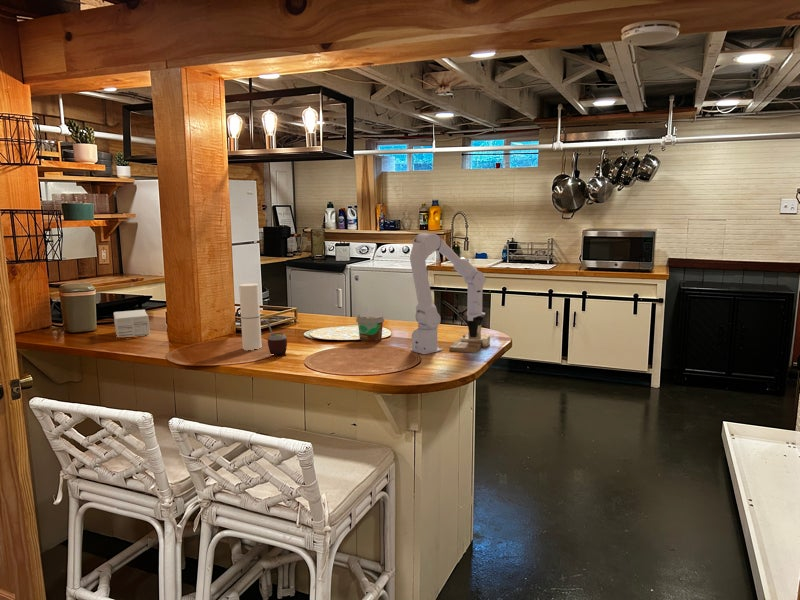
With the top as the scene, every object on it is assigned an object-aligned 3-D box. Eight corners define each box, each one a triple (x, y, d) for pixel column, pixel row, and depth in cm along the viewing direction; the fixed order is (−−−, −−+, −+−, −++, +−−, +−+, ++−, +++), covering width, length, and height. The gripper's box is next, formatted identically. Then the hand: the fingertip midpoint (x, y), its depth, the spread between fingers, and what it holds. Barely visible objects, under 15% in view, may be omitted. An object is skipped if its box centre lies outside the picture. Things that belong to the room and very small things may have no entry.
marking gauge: (486, 346, 223) (486, 327, 222) (459, 344, 227) (460, 326, 226) (490, 343, 229) (490, 324, 227) (464, 341, 232) (464, 323, 231)
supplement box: (114, 332, 260) (113, 311, 258) (146, 329, 266) (145, 309, 264) (116, 339, 245) (114, 318, 244) (150, 336, 251) (148, 315, 250)
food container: (350, 341, 237) (350, 317, 235) (358, 338, 242) (358, 314, 240) (377, 344, 231) (376, 319, 229) (384, 340, 236) (384, 316, 235)
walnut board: (475, 352, 215) (475, 348, 215) (449, 350, 219) (449, 346, 219) (487, 341, 234) (487, 337, 233) (463, 339, 237) (463, 335, 237)
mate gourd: (290, 353, 218) (288, 314, 216) (282, 358, 210) (280, 318, 208) (271, 352, 219) (269, 313, 217) (263, 358, 212) (261, 317, 209)
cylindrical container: (249, 351, 222) (245, 286, 218) (239, 348, 227) (235, 285, 222) (265, 347, 227) (262, 284, 223) (254, 345, 232) (251, 283, 228)
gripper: (480, 304, 217) (480, 340, 219) (489, 299, 230) (488, 332, 232) (462, 304, 220) (462, 339, 222) (471, 298, 233) (471, 331, 235)
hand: (474, 335), depth 227 cm, fingers closed on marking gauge, 4 cm apart
